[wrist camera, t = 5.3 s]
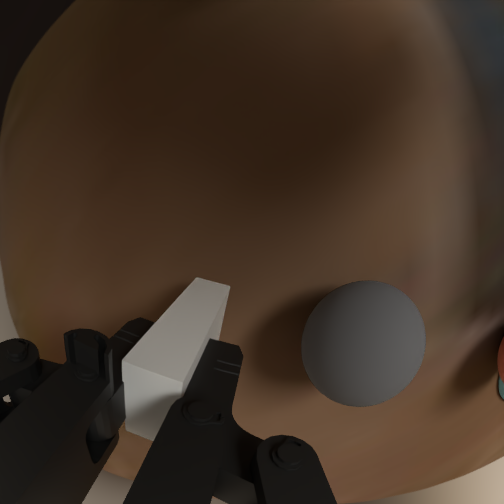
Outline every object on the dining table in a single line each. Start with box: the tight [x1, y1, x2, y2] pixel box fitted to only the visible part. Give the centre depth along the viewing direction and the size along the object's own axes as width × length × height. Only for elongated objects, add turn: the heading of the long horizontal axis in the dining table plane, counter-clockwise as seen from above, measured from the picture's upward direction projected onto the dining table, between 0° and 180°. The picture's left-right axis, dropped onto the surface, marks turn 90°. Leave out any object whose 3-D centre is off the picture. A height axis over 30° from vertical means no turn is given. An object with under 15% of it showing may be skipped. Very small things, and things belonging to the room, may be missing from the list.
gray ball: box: [301, 281, 426, 407], centre depth 11 cm, size 6×6×6 cm
